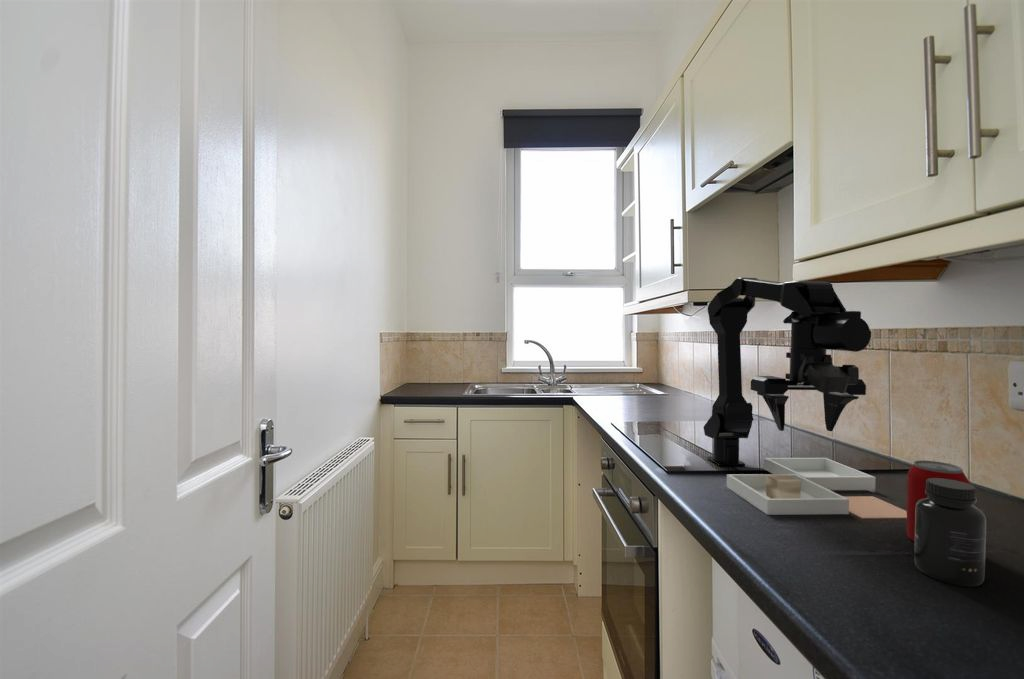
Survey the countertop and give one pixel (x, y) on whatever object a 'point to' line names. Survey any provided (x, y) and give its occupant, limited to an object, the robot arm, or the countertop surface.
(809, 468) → the tray
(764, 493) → the tray
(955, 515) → the supplement bottle
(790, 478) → the beech cube
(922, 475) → the beverage can
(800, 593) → the countertop surface
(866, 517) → the tile
